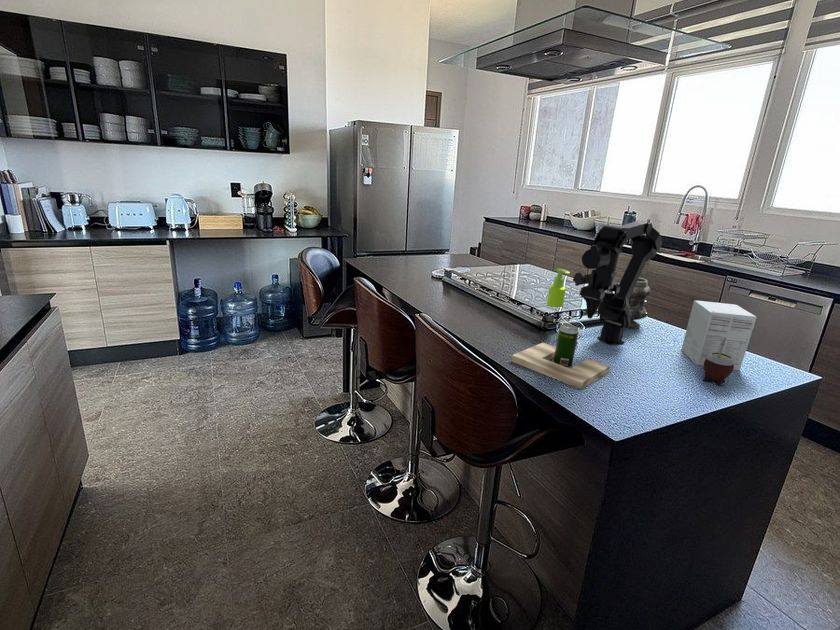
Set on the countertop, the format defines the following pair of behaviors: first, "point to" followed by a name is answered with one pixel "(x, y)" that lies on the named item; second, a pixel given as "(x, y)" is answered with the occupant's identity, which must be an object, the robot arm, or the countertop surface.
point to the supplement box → (718, 331)
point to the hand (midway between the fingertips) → (594, 316)
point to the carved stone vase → (638, 302)
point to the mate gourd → (718, 366)
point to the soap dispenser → (557, 290)
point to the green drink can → (566, 345)
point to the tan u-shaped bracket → (560, 366)
